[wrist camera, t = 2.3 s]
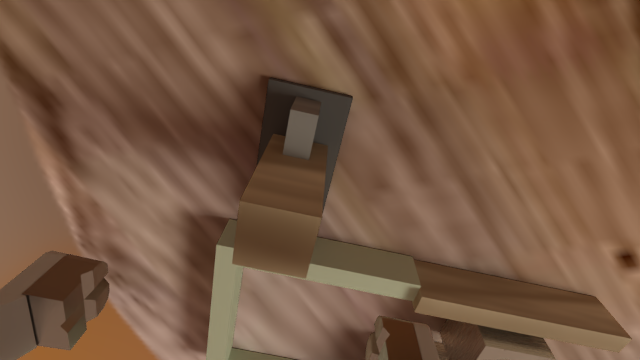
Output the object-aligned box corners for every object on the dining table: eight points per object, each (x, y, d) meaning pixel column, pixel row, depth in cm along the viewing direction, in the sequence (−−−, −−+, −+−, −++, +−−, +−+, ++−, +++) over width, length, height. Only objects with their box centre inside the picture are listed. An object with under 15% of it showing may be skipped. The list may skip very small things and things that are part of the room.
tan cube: (462, 290, 22) (485, 345, 18) (521, 302, 22) (555, 359, 19) (439, 331, 24) (456, 389, 20) (494, 341, 24) (520, 401, 20)
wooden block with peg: (279, 92, 16) (246, 143, 10) (337, 105, 16) (336, 162, 11) (260, 213, 19) (227, 303, 14) (308, 223, 20) (295, 316, 14)
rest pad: (270, 77, 16) (268, 79, 16) (352, 96, 16) (352, 98, 16) (250, 214, 20) (249, 218, 20) (317, 228, 20) (317, 232, 20)
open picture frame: (229, 218, 20) (216, 244, 18) (412, 256, 21) (421, 285, 19) (214, 355, 26) (203, 386, 24) (357, 381, 27) (359, 414, 25)
